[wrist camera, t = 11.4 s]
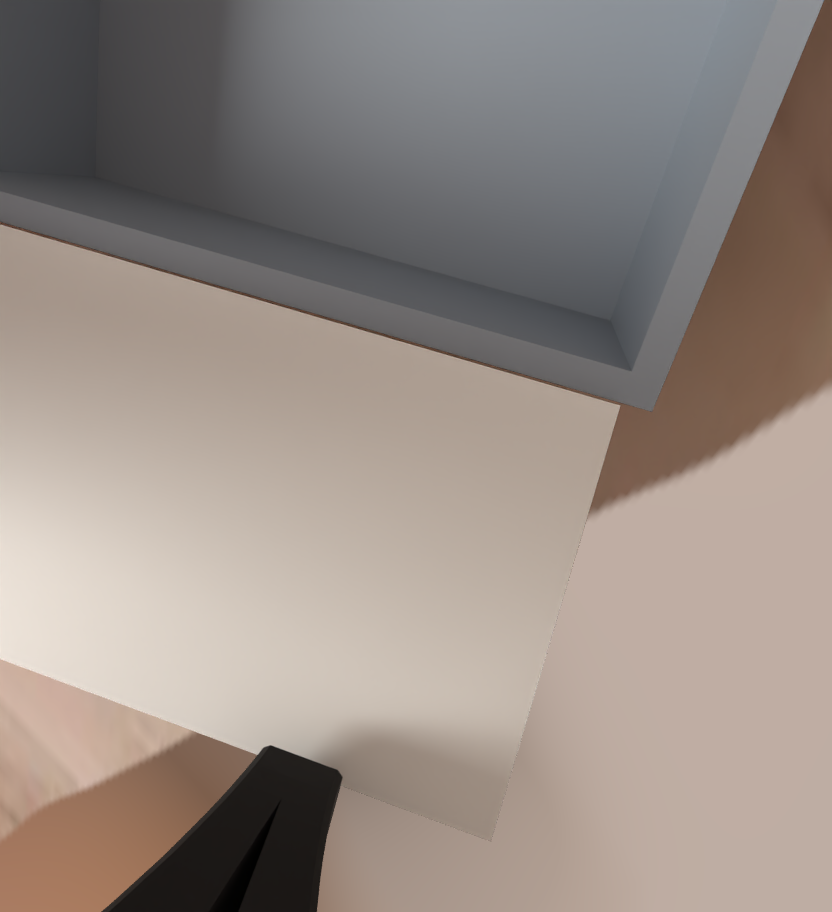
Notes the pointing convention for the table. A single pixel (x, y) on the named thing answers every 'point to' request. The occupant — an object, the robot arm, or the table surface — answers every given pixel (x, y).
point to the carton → (410, 159)
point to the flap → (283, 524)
